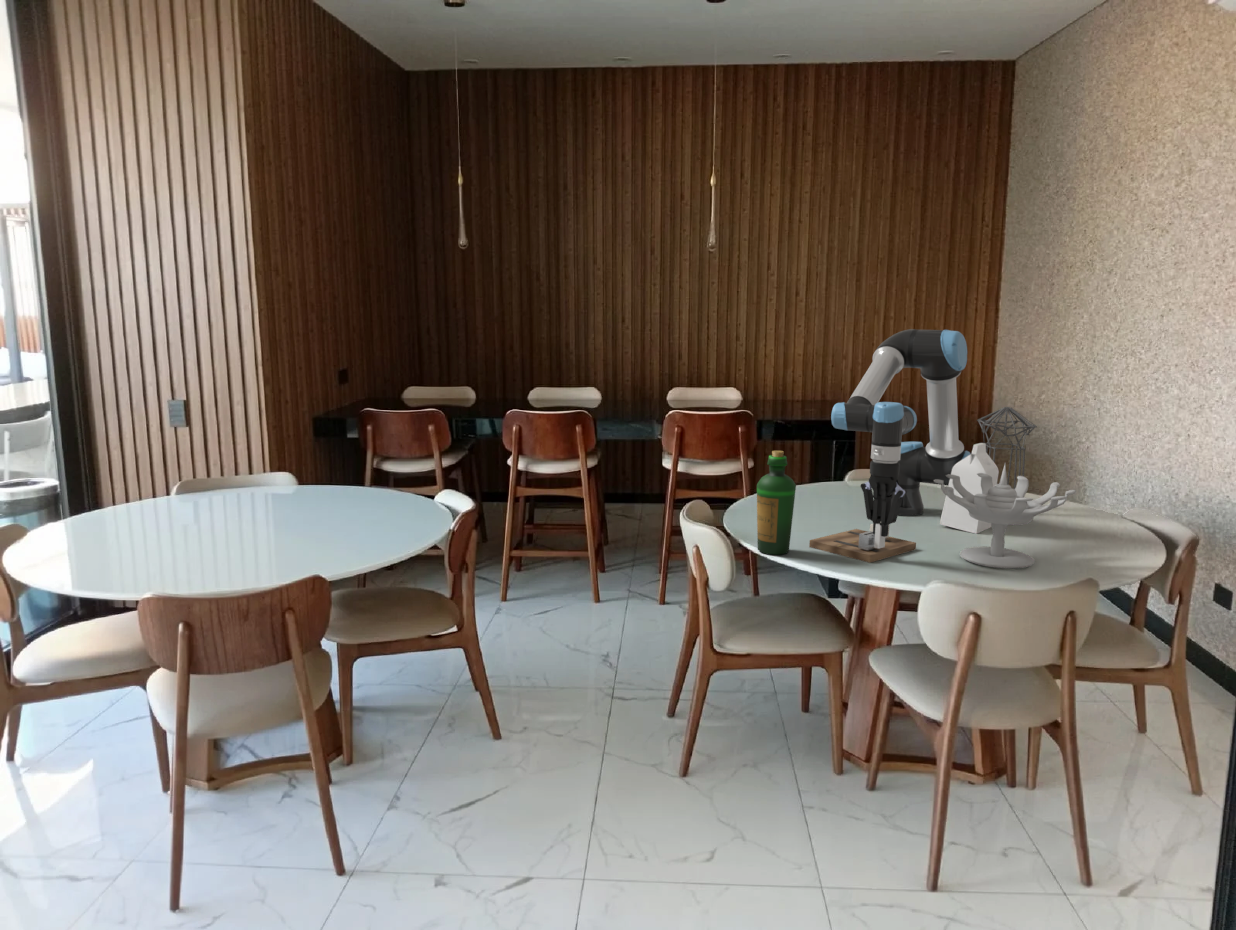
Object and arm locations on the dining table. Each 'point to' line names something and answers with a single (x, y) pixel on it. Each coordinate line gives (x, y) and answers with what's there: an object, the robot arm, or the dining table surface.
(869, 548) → the fader
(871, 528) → the fader
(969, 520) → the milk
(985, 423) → the geometric lantern
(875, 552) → the wooden board
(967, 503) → the candelabra
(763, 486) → the bottle
